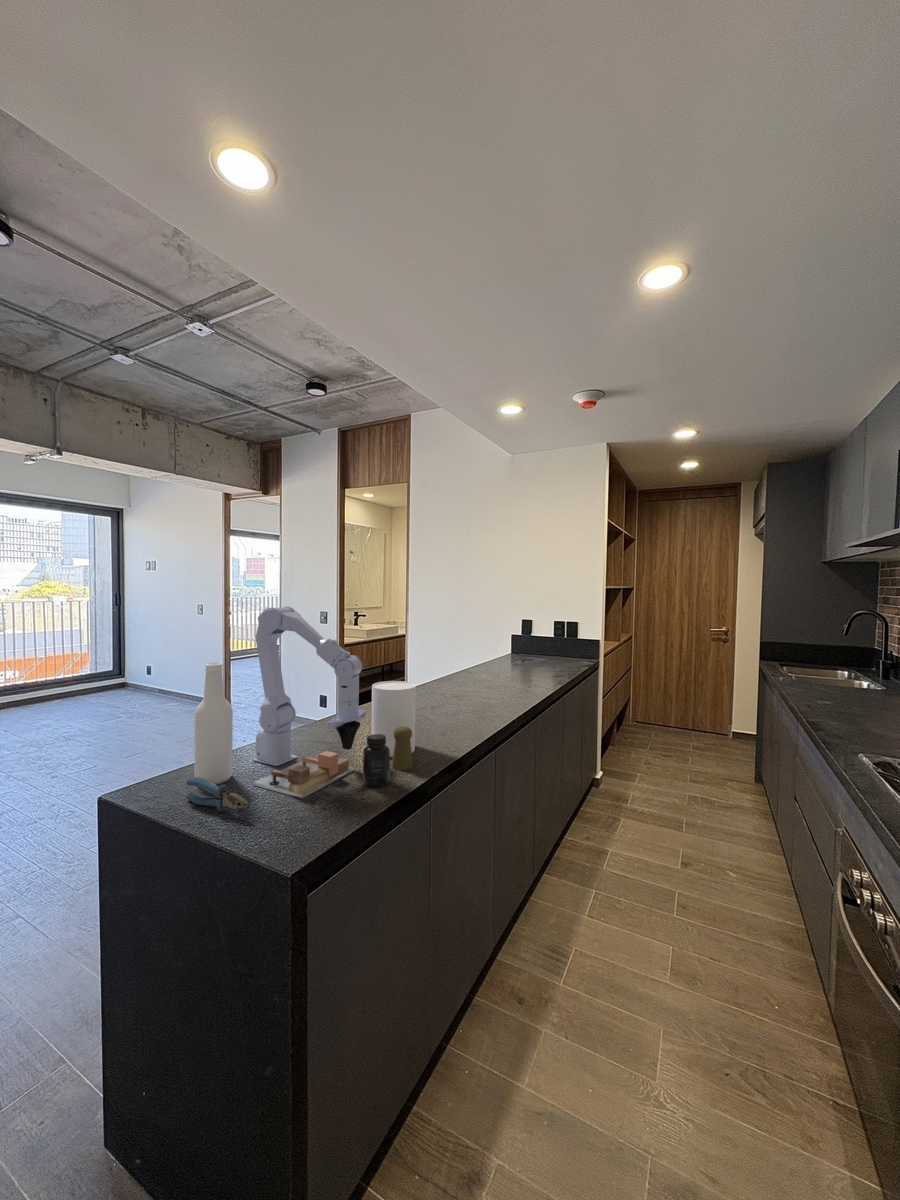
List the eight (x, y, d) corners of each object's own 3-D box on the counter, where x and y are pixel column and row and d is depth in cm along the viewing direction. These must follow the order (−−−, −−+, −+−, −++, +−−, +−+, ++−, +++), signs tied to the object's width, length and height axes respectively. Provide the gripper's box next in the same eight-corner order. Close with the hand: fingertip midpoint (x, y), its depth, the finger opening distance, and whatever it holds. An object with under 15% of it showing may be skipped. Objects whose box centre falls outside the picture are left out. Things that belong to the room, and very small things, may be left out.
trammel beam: (267, 785, 121) (267, 765, 120) (321, 760, 139) (321, 742, 138) (299, 794, 116) (299, 772, 116) (351, 766, 134) (351, 748, 134)
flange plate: (253, 785, 123) (253, 781, 123) (308, 760, 141) (308, 757, 141) (302, 798, 116) (302, 794, 116) (353, 770, 134) (354, 767, 134)
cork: (391, 762, 140) (392, 724, 140) (413, 762, 141) (413, 724, 140) (391, 770, 134) (391, 730, 134) (413, 770, 135) (413, 730, 134)
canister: (423, 747, 154) (424, 684, 153) (396, 759, 142) (397, 691, 142) (390, 739, 161) (391, 679, 160) (361, 750, 150) (362, 686, 149)
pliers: (250, 818, 106) (250, 791, 105) (242, 822, 104) (242, 795, 104) (193, 797, 115) (193, 772, 115) (184, 801, 113) (184, 775, 113)
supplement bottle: (393, 779, 128) (394, 734, 127) (382, 789, 121) (382, 742, 121) (370, 775, 130) (371, 731, 130) (357, 785, 124) (358, 738, 123)
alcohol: (213, 771, 131) (213, 660, 131) (239, 775, 129) (240, 662, 128) (186, 783, 123) (186, 665, 122) (214, 788, 120) (214, 667, 120)
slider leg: (299, 769, 131) (299, 750, 130) (307, 765, 133) (307, 747, 133) (330, 776, 126) (330, 757, 126) (337, 772, 129) (338, 753, 129)
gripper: (343, 707, 127) (342, 759, 127) (375, 696, 140) (374, 743, 141) (322, 704, 130) (321, 754, 131) (355, 693, 143) (354, 739, 144)
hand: (347, 748), depth 136 cm, fingers closed
